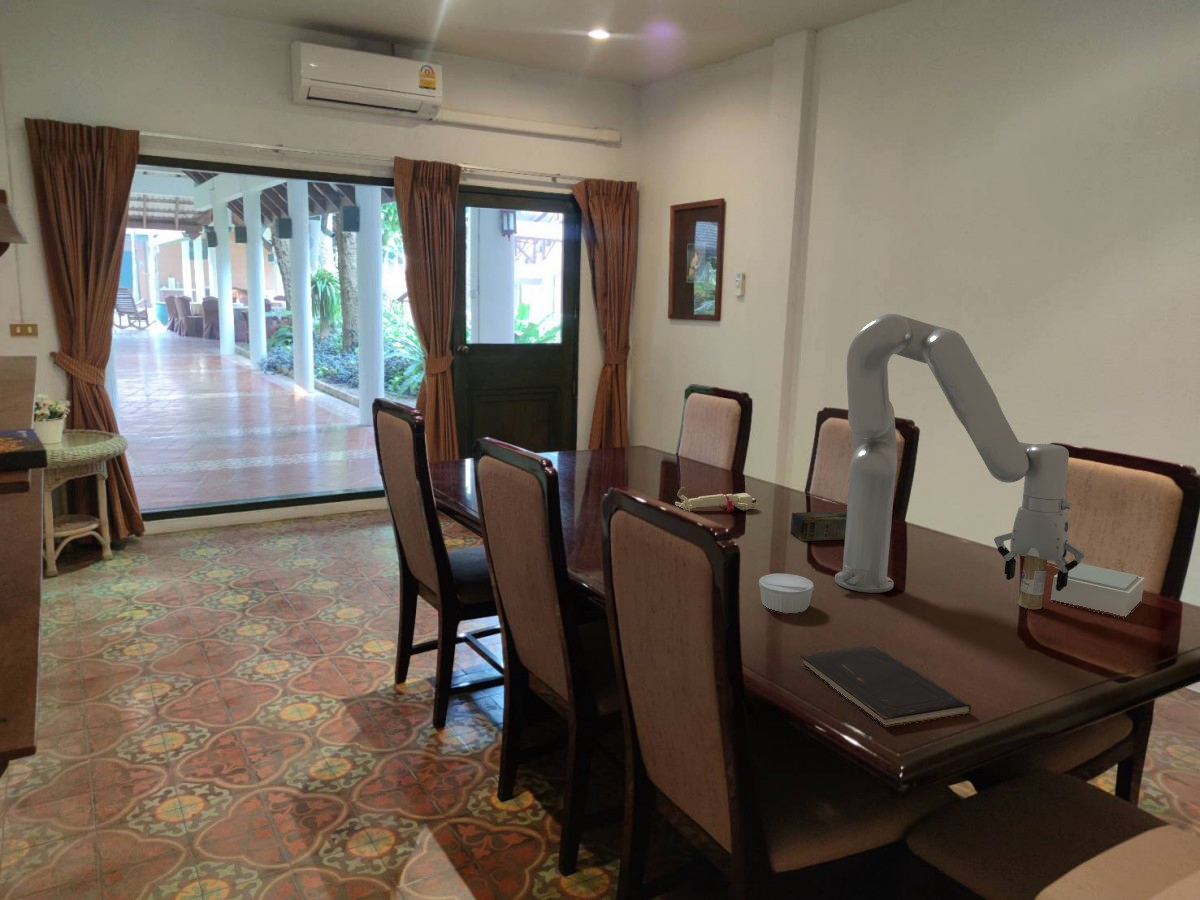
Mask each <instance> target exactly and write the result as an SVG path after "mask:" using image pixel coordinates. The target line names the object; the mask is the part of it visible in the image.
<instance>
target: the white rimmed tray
mask: <svg viewBox="0 0 1200 900" xmlns="http://www.w3.org/2000/svg"><path fill="white" fill-rule="evenodd" d="M1057 574H1058V573H1056V574H1055V575H1054V576H1053V579H1052V588H1051V593H1050V594H1051V595H1050V601H1051V600H1056V601H1060V602H1064V603H1069V604H1073V605H1079V606H1083V607H1087V608H1091V609H1095V610H1100V611H1104V612H1109V613H1113V614H1116V615H1120V616H1125V617H1126V616H1127V615H1128V614H1129V613H1130V612H1131V610H1132V609H1133V608H1134V607H1135V606H1136V605H1137V604H1138V603H1139V602H1140V601H1141V602H1142V600H1143V593H1144V584H1145V577H1143V576H1139V575H1137V574H1134V573H1130V572H1129V573H1128V572H1124V571H1118V570H1114V569H1110V568H1106V567H1105V568H1104V567H1099V566H1095V565H1091V564H1086V563H1081V562H1080V563H1079V565H1077V566H1076V567H1074V568H1073V569H1071V570H1069V571H1068V580H1067V586H1066V587H1064V588H1063V589H1062V590H1061V591H1057V590H1056V583H1057ZM1131 613H1132V612H1131Z"/></svg>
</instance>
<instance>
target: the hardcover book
mask: <svg viewBox="0 0 1200 900" xmlns="http://www.w3.org/2000/svg"><path fill="white" fill-rule="evenodd" d="M800 658H801V659H802V664H803V663H804V664H805V665H806V666H808V667H809V668H810V669H811V670H813V671H814V672H815V673H816V674H817V675H819V676H820V677H821V678H822V679H824V680H825V681H827V682H828V683H829V684H830V685H831V686H832V687H833V688H832V687H831V686H830V685H829V686H830V687H831V688H832V689H834V688H835V689H836V690H837V691H836V690H835V689H834V690H835V691H836V692H838V691H839V692H840V693H841V694H840V693H839V692H838V693H839V694H840V695H842V694H843V695H844V696H845V697H847V698H848V699H849V700H851V701H852V702H854V703H855V704H857V705H858V706H860V707H861V708H863V709H864V710H865V711H866V712H868V713H869V714H871V715H872V716H873V717H875V718H877V719H878V720H879V721H881V722H882V723H883V724H885V725H890V724H895V723H903V722H909V721H916V720H923V719H927V718H934V717H939V716H946V715H952V714H958V713H963V712H970V713H971V711H972V709H971V708H972V706H971V705H970V704H969V703H968V702H967V701H965V700H963V699H962V698H960V697H958V696H957V695H955V694H954V693H952V691H951V692H950V691H949V690H947V689H945V688H944V687H943V686H941V685H939V684H938V683H936V682H934V681H933V680H932V679H930V678H928V677H926V676H925V675H923V673H921V672H919V671H917V670H915V669H914V668H912V667H911V666H910V665H908V664H906V663H904V662H903V661H902V660H900V659H898V658H897V657H895V656H893V655H892V654H890V653H888V652H887V651H886V650H884V649H882V648H881V647H879V646H878V645H876V644H874V645H867V646H859V647H853V648H844V649H838V650H837V649H836V650H830V651H822V652H816V653H815V652H813V653H807V654H800ZM817 675H816V676H817ZM821 678H820V679H821ZM822 679H821V680H822ZM825 681H824V682H825ZM843 695H842V696H843ZM844 696H843V697H844ZM845 697H844V698H845ZM847 698H846V699H847ZM848 699H847V700H848ZM849 700H848V701H849ZM851 701H850V702H851ZM852 702H851V703H852ZM855 704H854V705H855Z"/></svg>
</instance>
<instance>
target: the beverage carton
mask: <svg viewBox="0 0 1200 900" xmlns="http://www.w3.org/2000/svg"><path fill="white" fill-rule="evenodd" d="M846 519H847V511H819V512H818V511H813V512H812V511H810V512H809V511H808V512H805V511H803V512H792V513H791V517H790V535H792V536H794V537H795V538H796V539H798V540H799V541H801V542H809V541H811V542H812V541H815V542H817V541H838V540H839V541H840V540H843V541H845V532H846Z"/></svg>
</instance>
